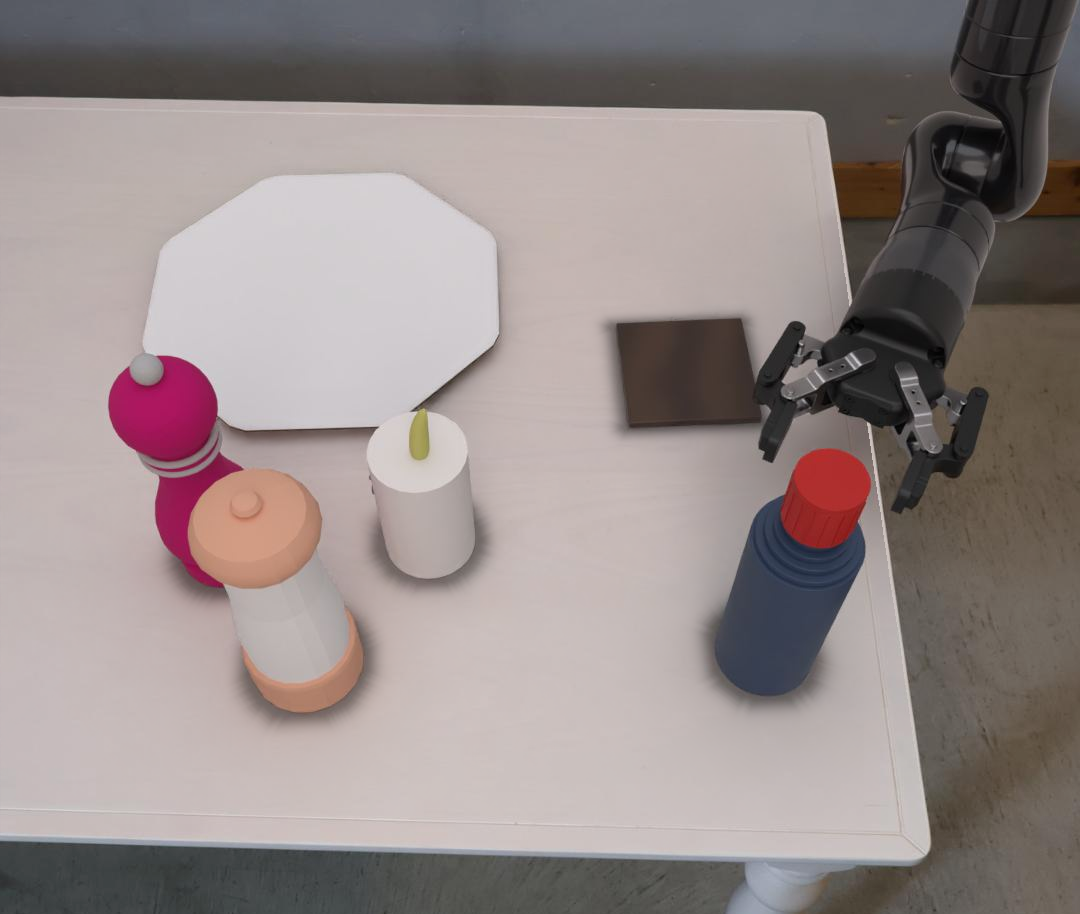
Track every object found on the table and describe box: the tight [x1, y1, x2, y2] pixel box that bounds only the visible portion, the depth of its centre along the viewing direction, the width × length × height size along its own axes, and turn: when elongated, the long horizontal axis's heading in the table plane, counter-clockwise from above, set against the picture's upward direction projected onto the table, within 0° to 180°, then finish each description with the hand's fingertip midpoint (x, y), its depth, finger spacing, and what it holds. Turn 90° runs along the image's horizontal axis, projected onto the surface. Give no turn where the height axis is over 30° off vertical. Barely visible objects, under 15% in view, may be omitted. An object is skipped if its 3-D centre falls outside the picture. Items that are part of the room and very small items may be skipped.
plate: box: [141, 172, 500, 433], centre depth 89 cm, size 28×28×2 cm
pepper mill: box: [107, 352, 245, 588], centre depth 69 cm, size 7×7×20 cm
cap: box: [780, 447, 872, 548], centre depth 58 cm, size 4×4×4 cm
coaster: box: [615, 317, 763, 429], centre depth 86 cm, size 10×10×1 cm
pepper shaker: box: [188, 468, 365, 713], centre depth 65 cm, size 7×7×19 cm
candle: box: [366, 408, 476, 580], centre depth 71 cm, size 6×6×15 cm
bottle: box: [714, 493, 867, 697], centre depth 65 cm, size 6×6×20 cm
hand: (833, 479), depth 69 cm, fingers open, 8 cm apart
